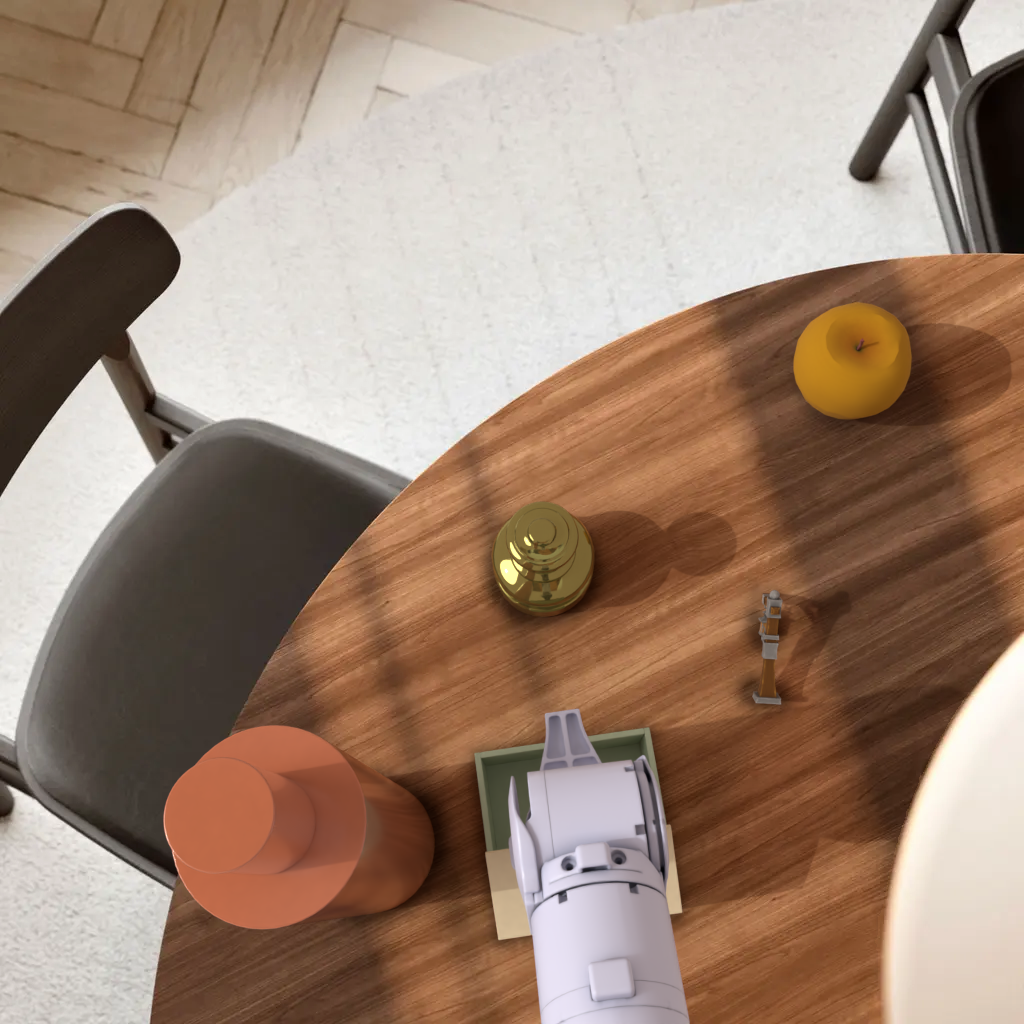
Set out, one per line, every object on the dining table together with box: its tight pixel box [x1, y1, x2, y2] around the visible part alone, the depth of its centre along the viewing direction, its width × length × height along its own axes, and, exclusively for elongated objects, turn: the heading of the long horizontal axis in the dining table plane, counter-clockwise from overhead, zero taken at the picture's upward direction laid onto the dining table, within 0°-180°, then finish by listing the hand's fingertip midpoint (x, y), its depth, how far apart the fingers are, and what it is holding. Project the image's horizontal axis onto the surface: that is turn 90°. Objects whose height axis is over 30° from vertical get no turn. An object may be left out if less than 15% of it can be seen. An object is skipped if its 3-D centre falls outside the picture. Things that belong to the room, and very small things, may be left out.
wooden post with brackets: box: [751, 589, 783, 705], centre depth 83 cm, size 2×8×4 cm, turn 176°
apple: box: [793, 301, 913, 420], centre depth 86 cm, size 8×8×9 cm
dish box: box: [473, 726, 668, 852], centre depth 78 cm, size 12×12×6 cm
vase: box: [163, 724, 436, 930], centre depth 63 cm, size 9×9×38 cm
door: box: [484, 824, 683, 941], centre depth 73 cm, size 6×12×1 cm, turn 98°
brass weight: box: [491, 500, 596, 618], centre depth 82 cm, size 7×7×10 cm
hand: (579, 847), depth 72 cm, fingers closed, pressing on door
